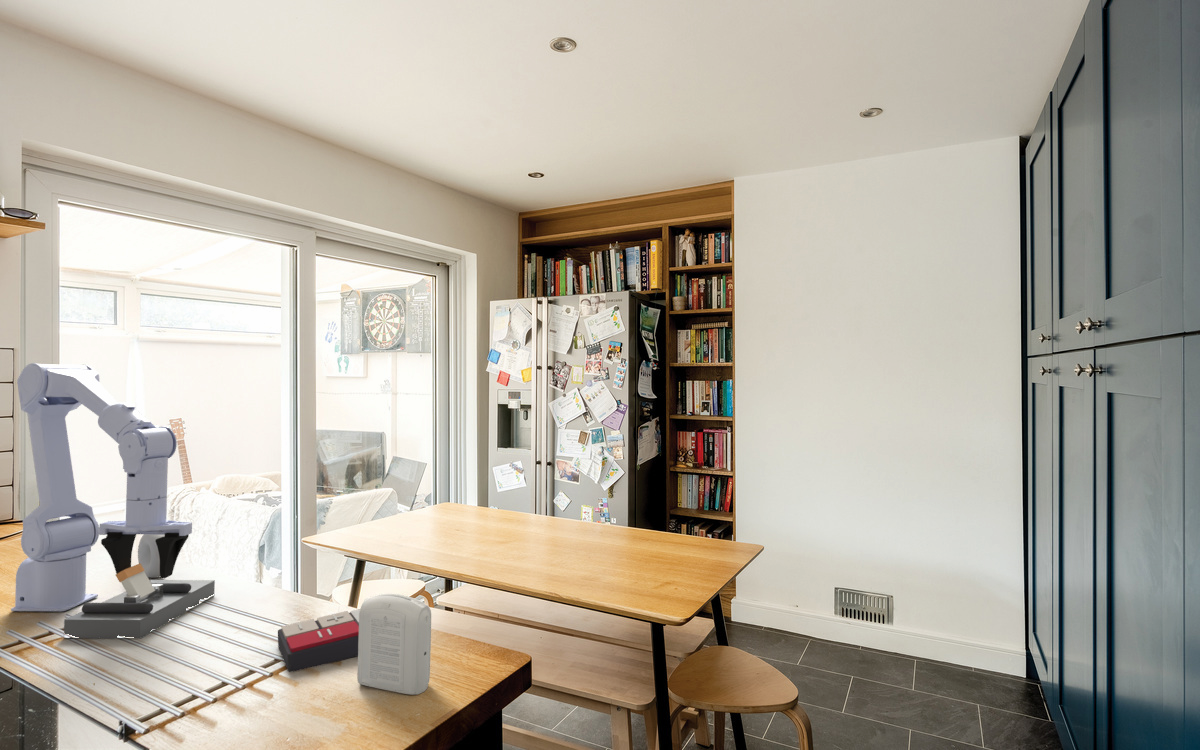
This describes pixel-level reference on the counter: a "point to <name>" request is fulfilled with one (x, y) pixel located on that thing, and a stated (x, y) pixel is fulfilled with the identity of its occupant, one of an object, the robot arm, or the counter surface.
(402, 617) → the photo printer
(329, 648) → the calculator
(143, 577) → the lever
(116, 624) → the box
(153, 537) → the donut
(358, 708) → the counter surface
